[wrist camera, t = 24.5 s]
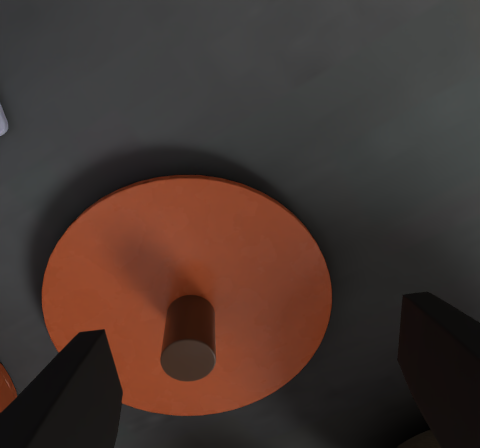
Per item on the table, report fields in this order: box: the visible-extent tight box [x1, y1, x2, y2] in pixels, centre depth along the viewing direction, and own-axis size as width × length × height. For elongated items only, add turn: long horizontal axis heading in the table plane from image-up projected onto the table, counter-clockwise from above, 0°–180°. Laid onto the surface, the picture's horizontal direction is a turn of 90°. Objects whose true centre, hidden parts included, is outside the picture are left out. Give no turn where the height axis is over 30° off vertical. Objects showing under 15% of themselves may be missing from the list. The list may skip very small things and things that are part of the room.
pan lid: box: [42, 175, 332, 416], centre depth 20 cm, size 14×14×4 cm
